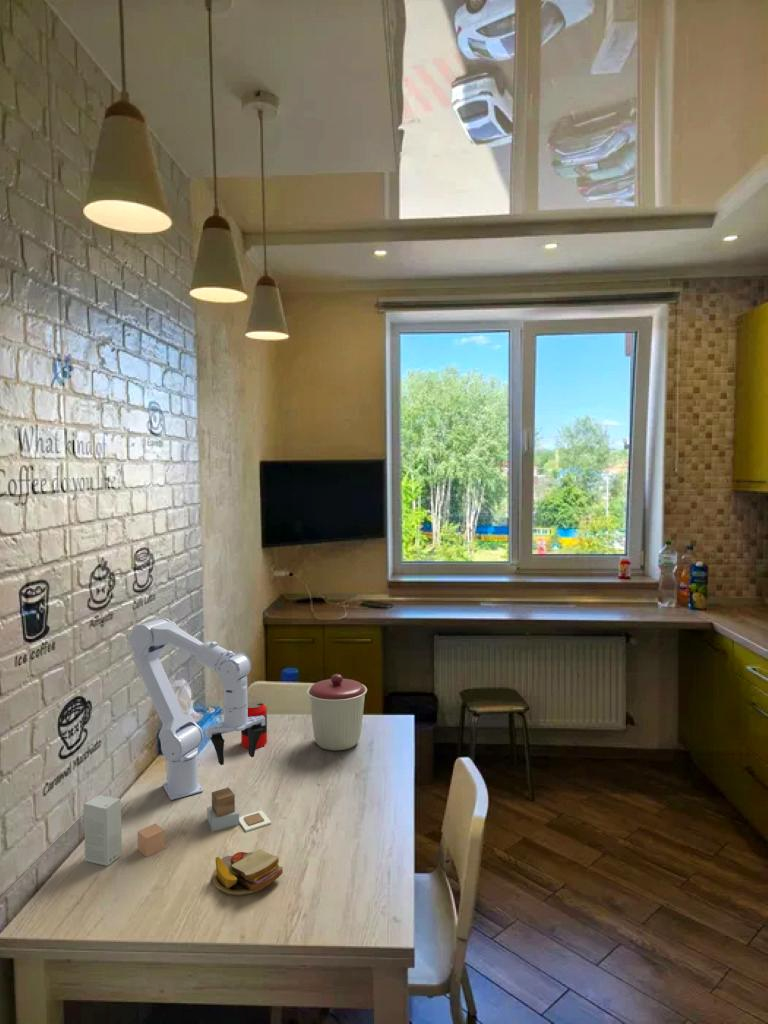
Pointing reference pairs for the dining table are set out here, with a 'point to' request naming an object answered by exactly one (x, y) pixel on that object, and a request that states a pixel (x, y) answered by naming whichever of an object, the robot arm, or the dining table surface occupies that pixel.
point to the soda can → (258, 710)
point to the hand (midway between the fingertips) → (236, 759)
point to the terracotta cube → (151, 839)
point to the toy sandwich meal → (246, 872)
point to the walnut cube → (223, 802)
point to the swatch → (254, 820)
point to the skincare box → (102, 830)
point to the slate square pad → (222, 819)
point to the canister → (337, 712)
